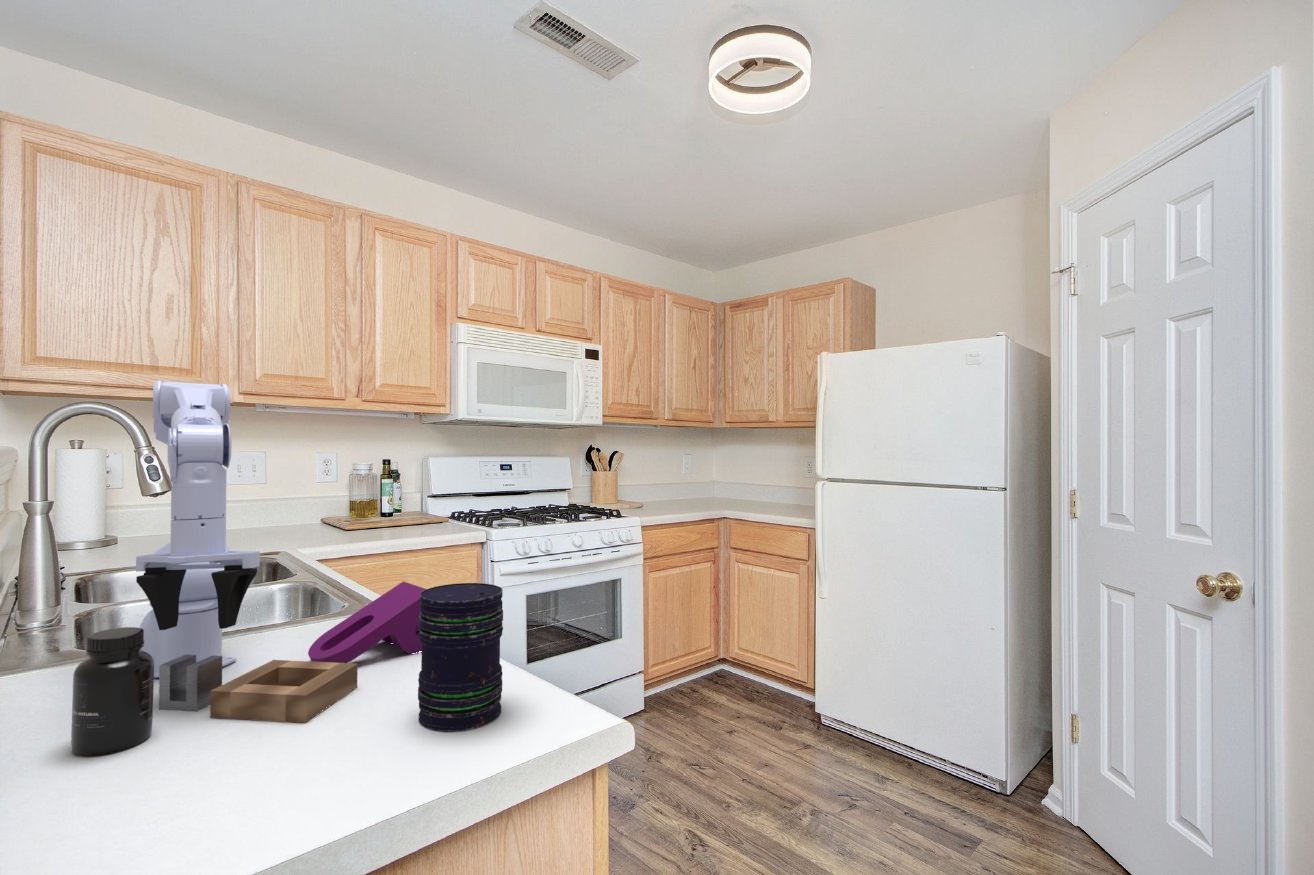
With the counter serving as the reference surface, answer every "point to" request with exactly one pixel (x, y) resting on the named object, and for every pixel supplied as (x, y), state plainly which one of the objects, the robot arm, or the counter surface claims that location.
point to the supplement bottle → (112, 693)
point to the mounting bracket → (374, 627)
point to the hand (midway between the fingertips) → (197, 627)
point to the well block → (284, 691)
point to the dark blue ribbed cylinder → (460, 656)
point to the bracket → (188, 682)
